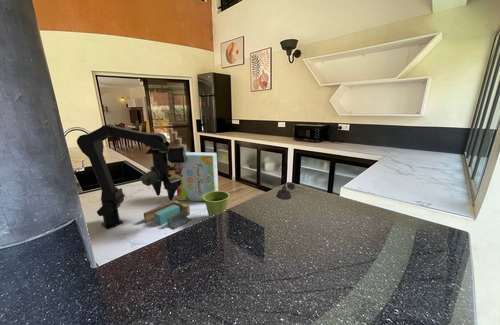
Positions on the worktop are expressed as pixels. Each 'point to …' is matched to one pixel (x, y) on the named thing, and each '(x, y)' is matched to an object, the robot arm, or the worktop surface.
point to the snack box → (197, 176)
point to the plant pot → (216, 202)
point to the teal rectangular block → (166, 214)
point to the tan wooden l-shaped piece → (151, 213)
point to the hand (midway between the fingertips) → (164, 197)
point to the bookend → (178, 219)
